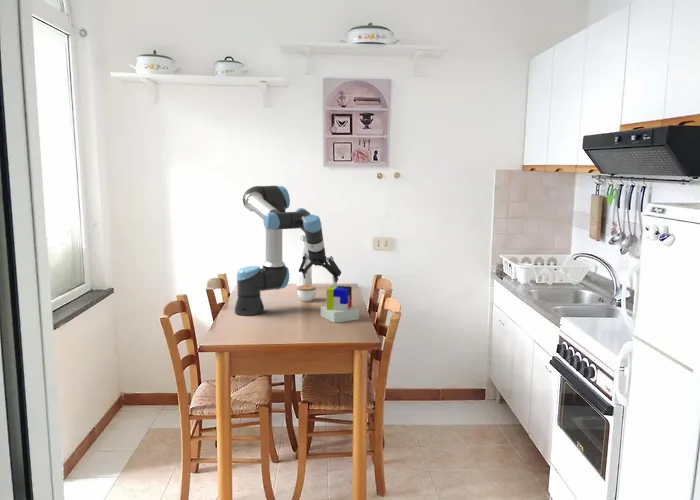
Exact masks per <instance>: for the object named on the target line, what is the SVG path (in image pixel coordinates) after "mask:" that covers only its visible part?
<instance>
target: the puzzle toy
mask: <svg viewBox="0 0 700 500" xmlns="http://www.w3.org/2000/svg"><path fill="white" fill-rule="evenodd" d="M352 288H353V287H352V286H348V285H347V286H346V285H345V286H344V285H337V286H336V288H334V285H331V286H330V287H328V288H327V289H326V306H327V310H340V311H347V310H348V309H349V308H350V307H351V306H353V305H352V296H353V295H352Z"/></svg>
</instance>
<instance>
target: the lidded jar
mask: <svg viewBox="0 0 700 500" xmlns="http://www.w3.org/2000/svg"><path fill="white" fill-rule="evenodd" d="M296 292H297V296H298V298H299V300H301V302H304V303H305V302H307V303H309V302H312V301H313V300H314V298H315V297H316V293H317V286H315V285H313V284H309V285H307V284H306V283H305V284H304V285H298V286H297V287H296Z"/></svg>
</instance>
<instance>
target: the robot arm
mask: <svg viewBox="0 0 700 500" xmlns="http://www.w3.org/2000/svg"><path fill="white" fill-rule="evenodd" d="M242 203H243V206H244V208H246V209H247V210H248V211H250V212H254V213H255V214H256V215H257V216H258V217H260V218H261V219H262V220H263V225H264V228H265V261H264V262H262V268H261V267H260V266H259V265H248V266H244V267H242V268H240V269H238V270H237V272H236V289H237V299H236V302H235V306H234V314H235V313H236V314H235V315H237V314H238V316H256V315H261V314H264V312H265V305H264V303H263V301H262V297H261V293H262V292H265V291H273V290H275V291H278V290H281V289H285V288H286V287H287V286H288V285H289V281H290V272H289V271H290V270H289V268H288V267H287V266H286V263H285V262H284V261H283V230H292V229H300V230H302V231H303V233H304V235H305V239H306V247H307V252H308V253H304V254H303V256H302V262H301V264H300V266H299V269H298V273H302V275H303V279H305V285H306V284H307V285H310V283H311V279H310V274H309V273H310V272H309V270H310V268H311V267H312V266H313V265H314V266H316V267H317V266H319V267H322V268H324V269H326V270H327V272H329V273H330V275H332V277H331V278H332V282H333V283H332V286H334V288H336V286H338V281H339V277H340V276H341V274H342V271H341V269H340V268H339V266H338V265H337V263H336V262H335V261H334V257H333V256H328V257H327V256H326V248H325V241H324V235H323V228H322V221H321V218H320V216H319V215H316V214H311V212H310V211H308V210H307V209H305V208H303V207H299V208H297V209H295V210H294V211H286V210H287V209H288V208H289V207H290V205H291V198H290V195H289V191H288V190H287V188H286V187H285V186H283V185H255V186H252V187H250V188H248V189H247V190H246V191H245V192H244V194H243V196H242ZM308 260H309V261H310V262H309V263H308V264H307V265H306V266H305V263H306V262H307V261H308ZM304 266H305V267H304Z"/></svg>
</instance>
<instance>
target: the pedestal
mask: <svg viewBox="0 0 700 500" xmlns="http://www.w3.org/2000/svg"><path fill="white" fill-rule="evenodd" d="M320 317H321V318H323V319H326V320H327V321H329V322H332V323H334V324H335V323H336V324H337V323H342V322H348V321H354V320H360V308H357V307H355V306H353V305H352V306H351V307H350V308H349V309H348V310H347V311H340V310H327V305H324V306H322V305H321V306H320Z"/></svg>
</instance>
